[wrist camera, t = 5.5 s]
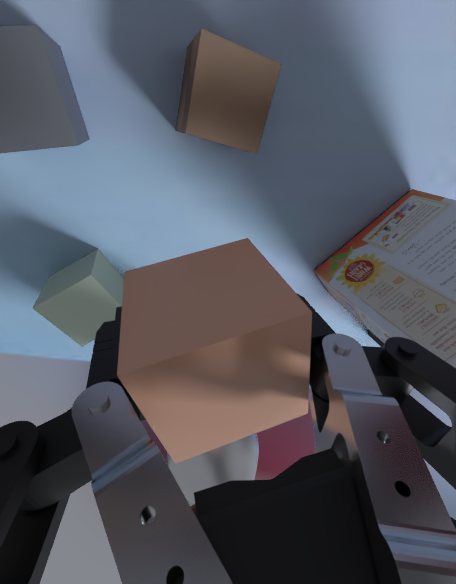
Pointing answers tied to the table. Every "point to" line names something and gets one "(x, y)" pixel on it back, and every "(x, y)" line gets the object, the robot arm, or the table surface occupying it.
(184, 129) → the walnut cube
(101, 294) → the sage cube
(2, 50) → the charcoal cube
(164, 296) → the terracotta cube
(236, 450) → the plastic bottle
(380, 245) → the cracker box
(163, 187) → the table surface
